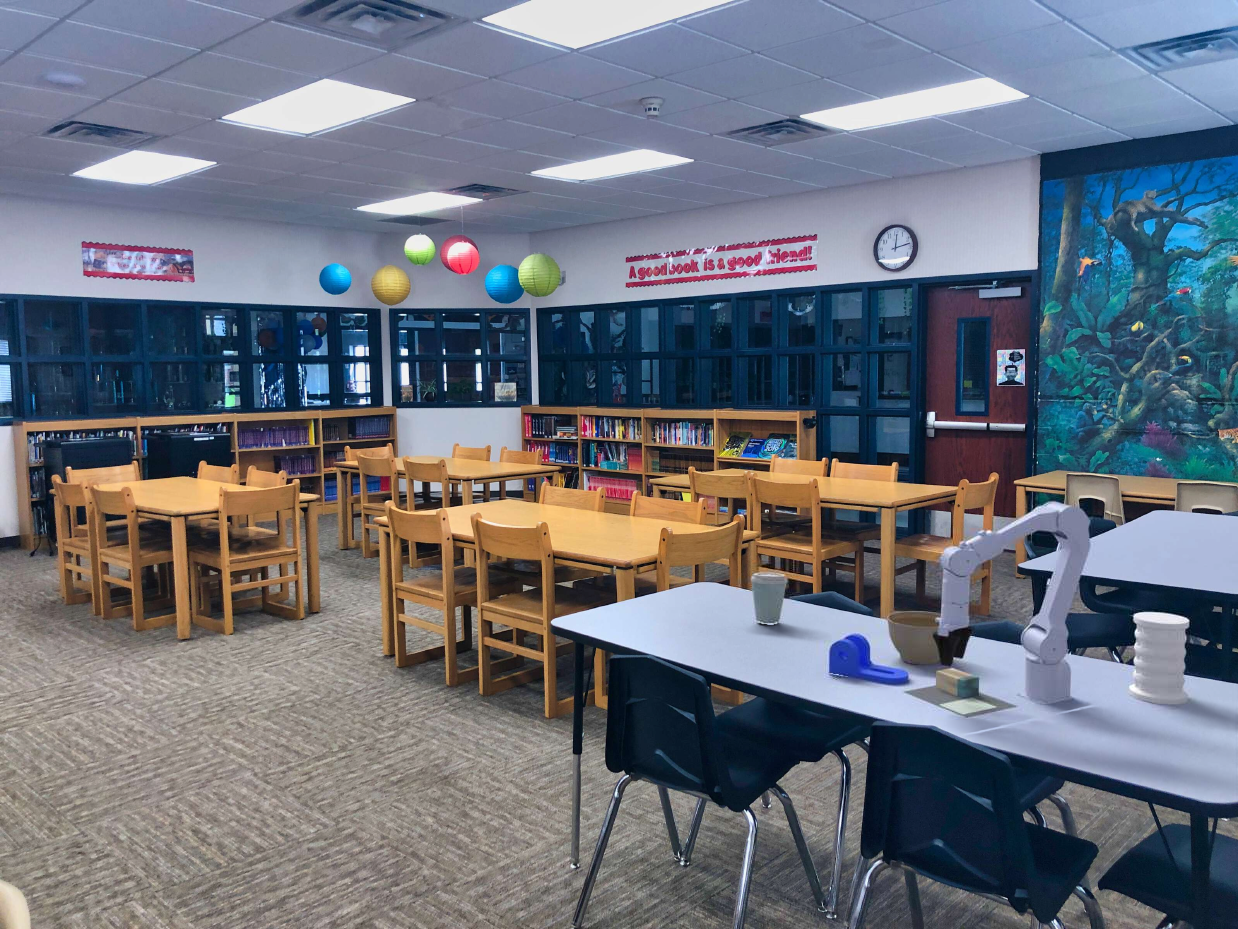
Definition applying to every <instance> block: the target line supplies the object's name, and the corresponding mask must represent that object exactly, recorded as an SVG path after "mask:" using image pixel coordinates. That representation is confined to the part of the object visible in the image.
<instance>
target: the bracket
mask: <svg viewBox="0 0 1238 929" xmlns="http://www.w3.org/2000/svg"><path fill="white" fill-rule="evenodd" d="M828 651H829V653H828V657H829V658H828V660H829V661H828V674H829V673H833V674H839V675H843V676H848V677H847V678H849V677H850V678H854V679H858V680H866V681H868V682H869V681H870V682H876V683H880V684H886V685H902V684H903V685H904V684H906V683H908V682H909V672H908V671H907V670H903V669H901V668H896V667H890V666H886V665H880V664H875V663H873V662H872V660H871V645H870V643H869V640H868V639H867V637H865V636H863V635H862V634H861V633H851V634H849V635H846V636H845V637H844V638H842V639H839V640H837V641H835V642H833V643H832V644H831V645H830V647H829V650H828Z"/></svg>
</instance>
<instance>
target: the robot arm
mask: <svg viewBox="0 0 1238 929" xmlns="http://www.w3.org/2000/svg"><path fill="white" fill-rule="evenodd" d="M1089 518H1090V517H1088V515H1087V514H1086V513H1085V511H1084V510H1083V509H1082V508H1080V507H1079V506H1076V505H1075V506H1074V505H1070V504H1069V505H1068V504H1065V503H1061V502H1058V501H1055V500H1053V501H1052V500H1051V501H1048V502H1046V503H1043V505H1039V506H1036V507H1035V508H1034V509H1033V510H1031V511H1030V512H1028V513H1026V514H1025V515H1023V516H1021V517H1020V518H1018V519H1016V520H1015V521H1013V522H1011V523H1010V524H1008V525H1006V526H1004V527H1003V528H1001V529H999V530H997V531H993V530H989V529H987V530H984V529H982V530H979V531H978V532H977V534H978V535H976V536H974V537H972V538H970V539H967V540H965V541H964V540H963V541H960V542H958V544H959V545H958V546H955V545H952V546H949V547H947V548H945V549H944V550H943V552H942V553H941V555H940V557H938V562H939V564H940V566H941V567H942V570H943V572H942V583H941V584H942V586H941V587H942V588H941V589H942V591H941V608H940V609H941V610H940V614H941V618H940V617H938V618H936V619H935V622H939V623H940V626H938V632H937V631H935V632H933V638H934V640H935V642H936V644H937V647H938V651H939V657H940V660H939V662H940V665H941V666H945V667H951V666H952V665H953V662H954V658H956V659H960V660H963V658H964V656H965V653H966V650H967V646H968V643H969V640H970V638H971V636H972V634H973V633H974V631H975V627H974V626H970V615H969V610H970V608H969V607H970V606H969V605H970V591H971V590H970V589H971V574H973V573H974V571H975V570H976V568H977V566H980V565H981V564H983V563H985V562H987V561H989V560H991V559H993V558H995V557H997V556H998V555H1001V554H1002V553H1003V552H1004V549H1005V546H1006V545H1008V544H1011V543H1013V542H1016V541H1017V540H1019V539H1022V538H1024V537H1026V536H1029V535H1031V534H1033V533H1036V532H1037V531H1041V532H1050V533H1052V534H1053V536H1054V538H1056V541H1057V542H1058V544H1059V545H1060V547H1061V549H1060V552H1059V554H1058V558H1057V560H1056V562H1055V566H1054V569H1053V573H1052V574H1051V578H1050V581H1049V584H1048V587H1047V590H1046V593H1045V595H1044V597H1043V598H1044V599H1043V602H1042V605H1041V608H1040V610H1039V613H1037V614H1036V615H1034V616H1033V617H1031V619H1030V621H1029V624H1028V626H1027V627H1026V628H1024V630H1023V631H1022V633H1021V636H1020V642H1021V645H1022V647H1023V648H1024V649H1025V673H1024V674H1025V678H1024V679H1025V680H1024V691H1020V692H1016V693H1015V695H1016V696H1019V697H1021V698H1024V699H1027V700H1030V701H1033V702H1036V703H1038V704H1041V705H1045V706H1047V705H1051V704H1055V703H1059V702H1063V701H1068V700H1073V699H1074V697H1073V696H1072V695H1071V683H1072V682H1071V681H1072V680H1071V679H1072V678H1071V677H1072V670H1071V666H1070V664H1069V663H1068V661H1067V660H1066V659H1065V657H1066V656H1067V653H1068V642H1067V640H1068V637H1069V631H1068V628H1067V625H1066V623H1065V622H1066V621H1067V620H1066V619H1067V616H1068V614H1069V610H1070V608H1071V605H1072V603H1073V600H1074V595H1075V593H1076V590H1077V588H1078V586H1079V585H1078V584H1079V582H1080V579H1081V576H1082V573H1083V570H1084V567H1085V564H1086V562H1087V560H1088V555H1089V552H1090V550H1091V539H1090V531H1089V527H1090V524H1091V520H1090V519H1089Z"/></svg>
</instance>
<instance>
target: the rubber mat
mask: <svg viewBox="0 0 1238 929" xmlns="http://www.w3.org/2000/svg"><path fill="white" fill-rule="evenodd" d="M903 693H904V694H907V695H910V696H911V697H912V696H913V697H914V698H917V699H920V700H921V701H924V702H927V703H930V704H932V705H934V706H936V707H939V708H942V709H945V710H947V711H949V712H951V713H954V714H956V715H959V716H962V717H963V718H971V717H977V716H981V715H986V714H989V713H995V712H998V711H1003V710H1008V709H1012V708H1016V707H1018V706H1017V705H1016V704H1013V703H1009V702H1007V701H1004V700H1002V699H999V698H996V697H993V696H991V695H988V694H986V693H982V692H980V691H979V695H976V696H971V697H966V698H960V697H958V696H955V695H953V694H950V693H948V692H945V691H942V690H940V689H937V688H936V684H935V685H931V686H926V687H921V688H916V689H915V688H914V689H910V690H904V691H903Z"/></svg>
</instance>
